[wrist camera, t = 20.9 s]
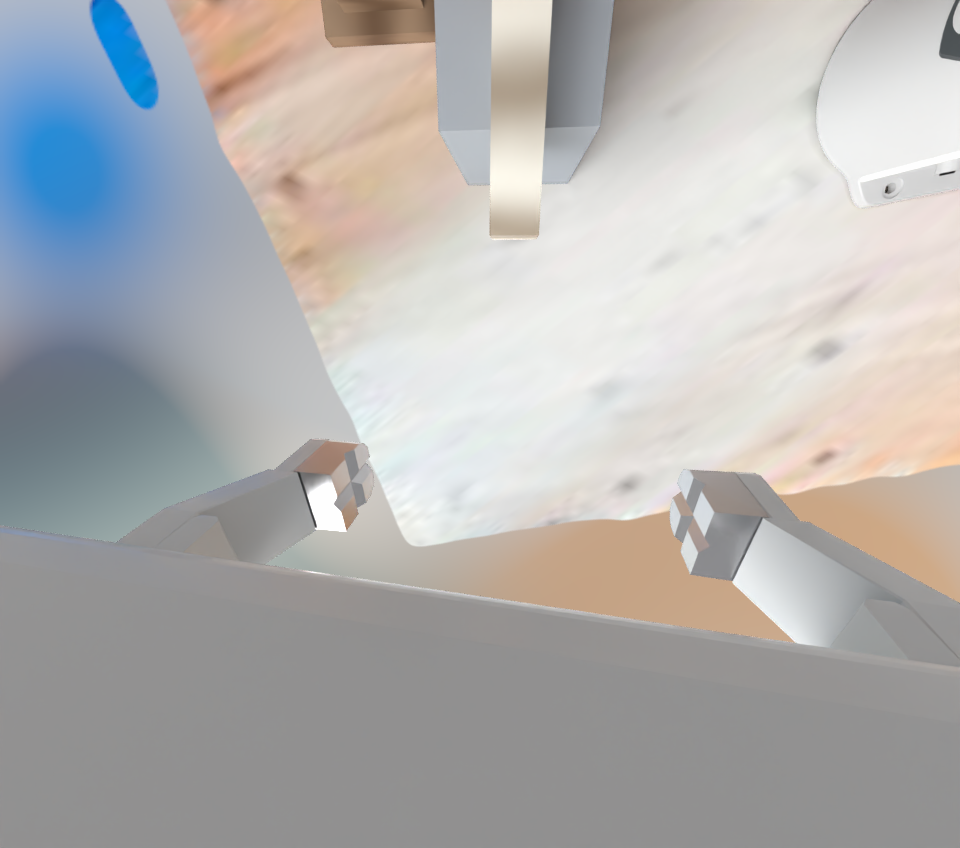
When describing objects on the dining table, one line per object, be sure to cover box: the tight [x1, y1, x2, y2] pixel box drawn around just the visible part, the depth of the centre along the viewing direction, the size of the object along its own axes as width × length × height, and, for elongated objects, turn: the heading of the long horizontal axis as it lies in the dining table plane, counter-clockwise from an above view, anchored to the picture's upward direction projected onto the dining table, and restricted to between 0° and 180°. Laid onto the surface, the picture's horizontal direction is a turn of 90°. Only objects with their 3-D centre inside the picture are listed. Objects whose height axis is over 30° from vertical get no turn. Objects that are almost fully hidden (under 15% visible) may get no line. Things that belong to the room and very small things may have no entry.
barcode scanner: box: [490, 0, 552, 240], centre depth 18 cm, size 18×5×5 cm, turn 0°
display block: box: [434, 0, 614, 185], centre depth 26 cm, size 10×14×15 cm
